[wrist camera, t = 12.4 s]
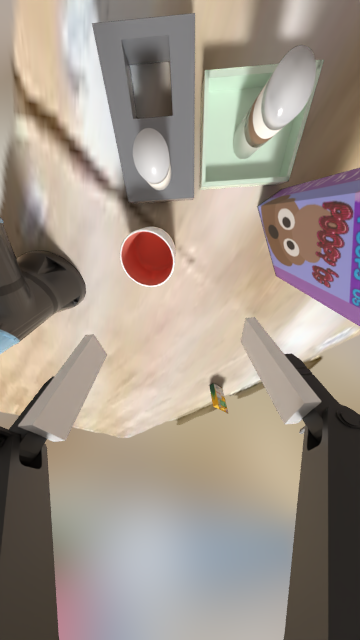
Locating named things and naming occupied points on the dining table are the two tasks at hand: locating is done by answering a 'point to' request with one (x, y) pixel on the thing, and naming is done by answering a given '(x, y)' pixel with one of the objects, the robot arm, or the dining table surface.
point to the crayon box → (218, 397)
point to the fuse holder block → (156, 132)
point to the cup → (148, 256)
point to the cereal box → (318, 239)
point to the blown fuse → (277, 101)
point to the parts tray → (225, 116)
